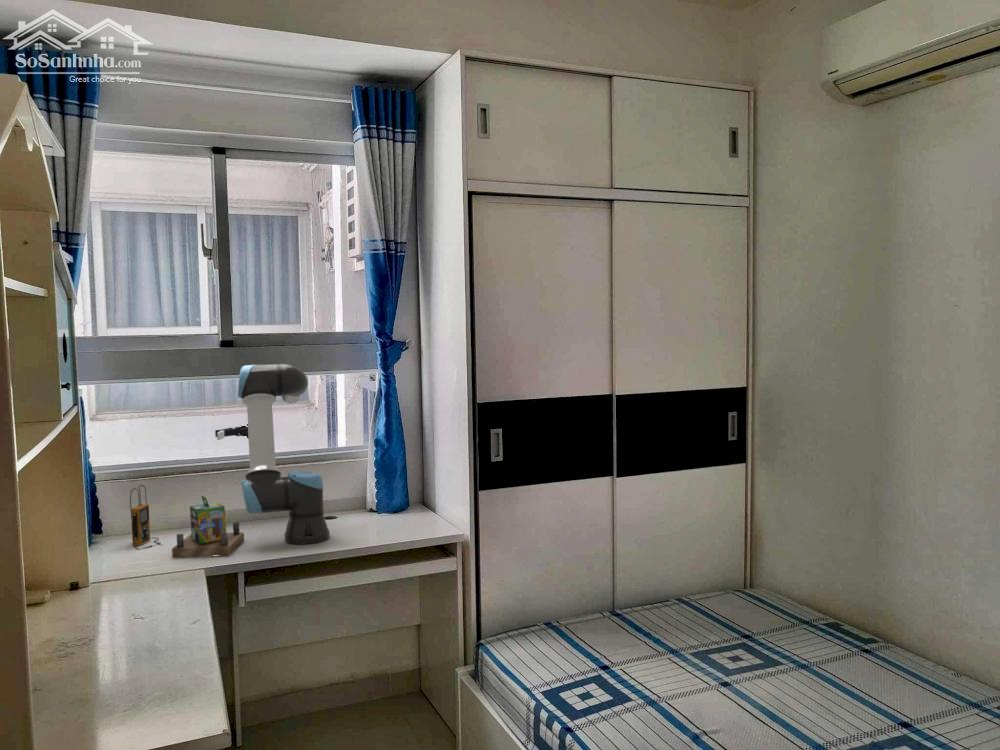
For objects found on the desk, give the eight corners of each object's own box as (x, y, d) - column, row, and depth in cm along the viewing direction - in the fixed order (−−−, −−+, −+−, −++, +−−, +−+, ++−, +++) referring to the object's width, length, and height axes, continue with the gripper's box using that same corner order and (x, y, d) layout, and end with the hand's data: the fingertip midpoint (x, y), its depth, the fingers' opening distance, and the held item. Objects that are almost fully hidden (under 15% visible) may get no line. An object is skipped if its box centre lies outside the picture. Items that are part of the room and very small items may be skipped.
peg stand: (244, 540, 268) (243, 520, 268) (229, 555, 250) (228, 534, 250) (191, 542, 267) (190, 522, 267) (172, 557, 249) (171, 536, 249)
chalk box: (227, 540, 258) (225, 496, 257) (198, 545, 252) (196, 500, 251) (218, 534, 265) (216, 492, 264) (190, 539, 260) (188, 495, 259)
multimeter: (156, 549, 259) (153, 490, 258) (127, 549, 260) (124, 490, 258) (175, 537, 274) (173, 481, 273) (147, 537, 274) (145, 482, 273)
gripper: (284, 437, 308) (271, 445, 287) (220, 438, 306) (202, 446, 285) (283, 418, 307) (271, 424, 286) (219, 419, 306) (202, 426, 285)
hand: (236, 435), depth 286 cm, fingers open, 13 cm apart
